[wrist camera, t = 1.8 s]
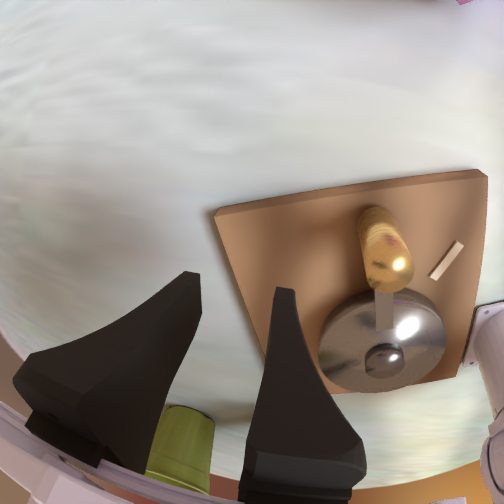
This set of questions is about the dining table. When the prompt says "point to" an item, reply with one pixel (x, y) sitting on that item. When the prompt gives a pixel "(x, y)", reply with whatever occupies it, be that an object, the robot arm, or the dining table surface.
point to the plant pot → (182, 450)
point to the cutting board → (350, 253)
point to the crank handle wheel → (382, 318)
